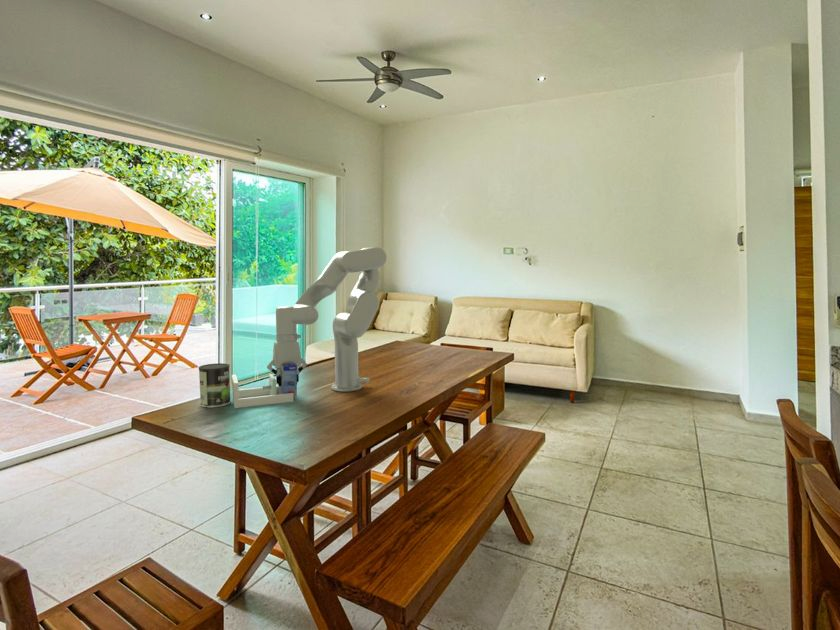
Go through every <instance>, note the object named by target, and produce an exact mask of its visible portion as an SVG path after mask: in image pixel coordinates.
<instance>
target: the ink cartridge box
mask: <svg viewBox="0 0 840 630" xmlns="http://www.w3.org/2000/svg"><path fill="white" fill-rule="evenodd" d="M280 376H281V386H279V385H278V386H279V393H280V394H287V393H293V397H297V396H298V395H297V394H298V392H297V391H298V390H297V389H298V387H297V386H298V382H297V365H296V364H283V365H282V369H281V372H280Z"/></svg>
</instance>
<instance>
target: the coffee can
mask: <svg viewBox="0 0 840 630" xmlns="http://www.w3.org/2000/svg"><path fill="white" fill-rule="evenodd" d="M198 372H199V373H198V374H199V375H198V376H199V379H198V380H199V392H200V393H199V397H200V405H199V406H200V407H202V408H206V407H207V409H208V408H209V409H210V408H220V407H225V406H228V405H230V404H231V385H230V384H231V383H230V381H231V379H230V378H231V377H230V364H228V363H222V362H221V363H220V362H219V363H207V364H203V365H200V366H198Z"/></svg>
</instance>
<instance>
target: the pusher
mask: <svg viewBox="0 0 840 630" xmlns="http://www.w3.org/2000/svg"><path fill="white" fill-rule="evenodd" d="M268 383H269V384H268V385H262V387H263V390H266V389H269V394H270V395H277V394H276V386H277V383H276V378H275V376H274V374H273V373H269V374H268Z"/></svg>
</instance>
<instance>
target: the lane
mask: <svg viewBox="0 0 840 630" xmlns="http://www.w3.org/2000/svg"><path fill="white" fill-rule="evenodd" d="M231 391H232V396H231V397H232V402H233V406H234V407H233V408H234V409H238V408H239V409H240V408H249V407H256V406H266V405H274V404H275V405H276V404H283V403H291V402H294V396H293V393H287V394H280V393H279V385H276V395H270V394H269V389H266V390H263V386H261V387H251V388H249V387H248V388H241V389H239V381H238V377H237V374H231Z"/></svg>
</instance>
